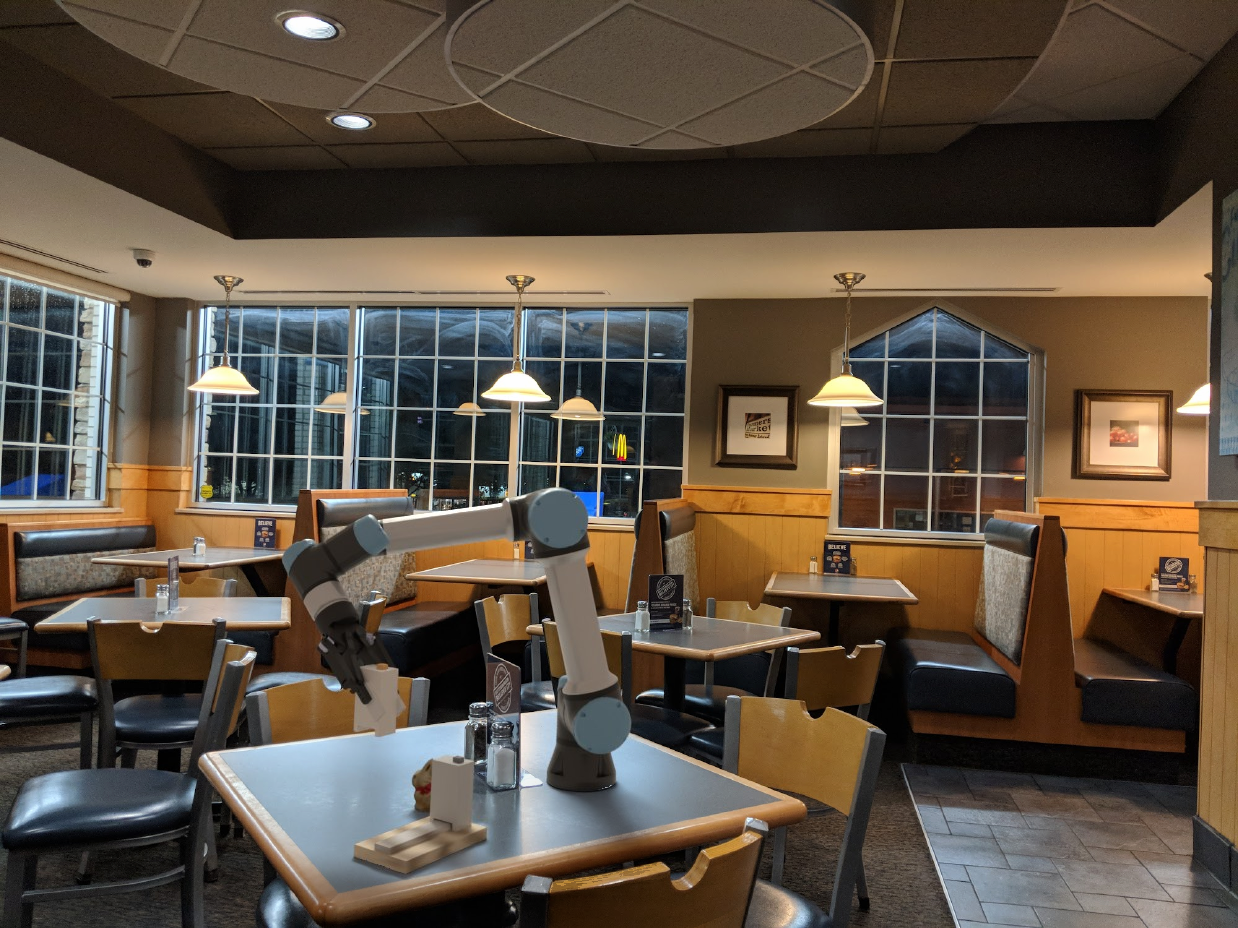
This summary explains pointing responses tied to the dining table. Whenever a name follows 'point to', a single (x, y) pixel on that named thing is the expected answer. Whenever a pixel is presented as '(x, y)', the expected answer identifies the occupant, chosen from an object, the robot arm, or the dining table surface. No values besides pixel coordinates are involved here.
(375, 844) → the rail board
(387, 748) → the dining table surface
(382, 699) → the block
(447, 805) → the fitted module
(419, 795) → the chocolate bunny
